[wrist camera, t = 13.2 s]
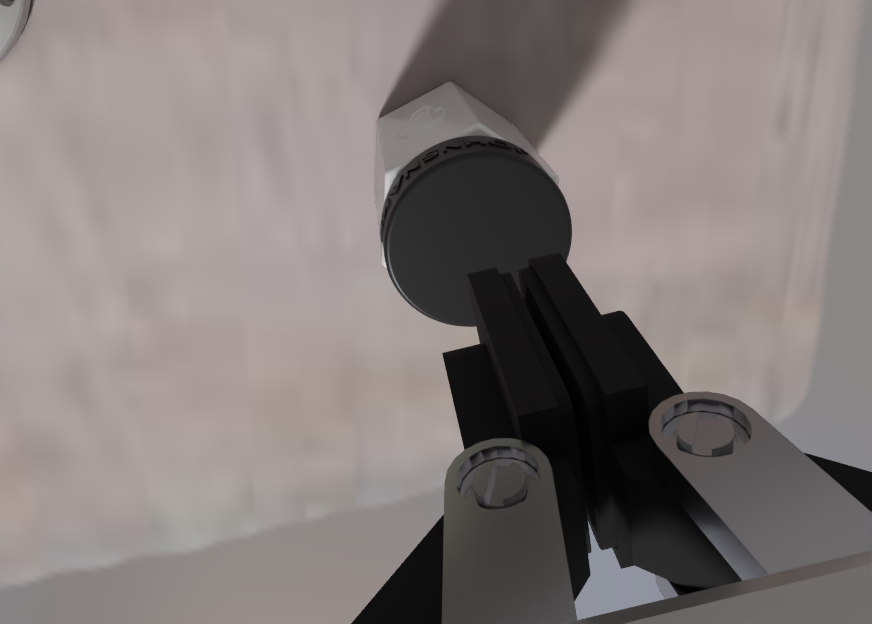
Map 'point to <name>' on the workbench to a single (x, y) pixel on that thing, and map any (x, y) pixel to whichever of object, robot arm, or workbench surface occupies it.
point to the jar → (460, 201)
